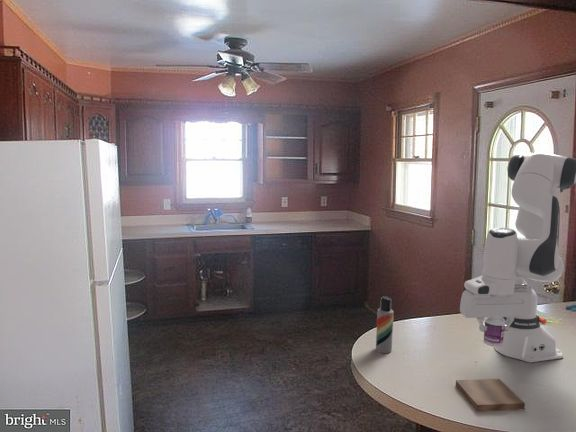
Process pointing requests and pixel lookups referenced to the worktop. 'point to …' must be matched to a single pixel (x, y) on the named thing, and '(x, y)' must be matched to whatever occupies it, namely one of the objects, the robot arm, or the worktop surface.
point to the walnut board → (489, 395)
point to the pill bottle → (494, 331)
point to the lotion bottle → (384, 326)
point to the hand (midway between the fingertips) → (494, 330)
